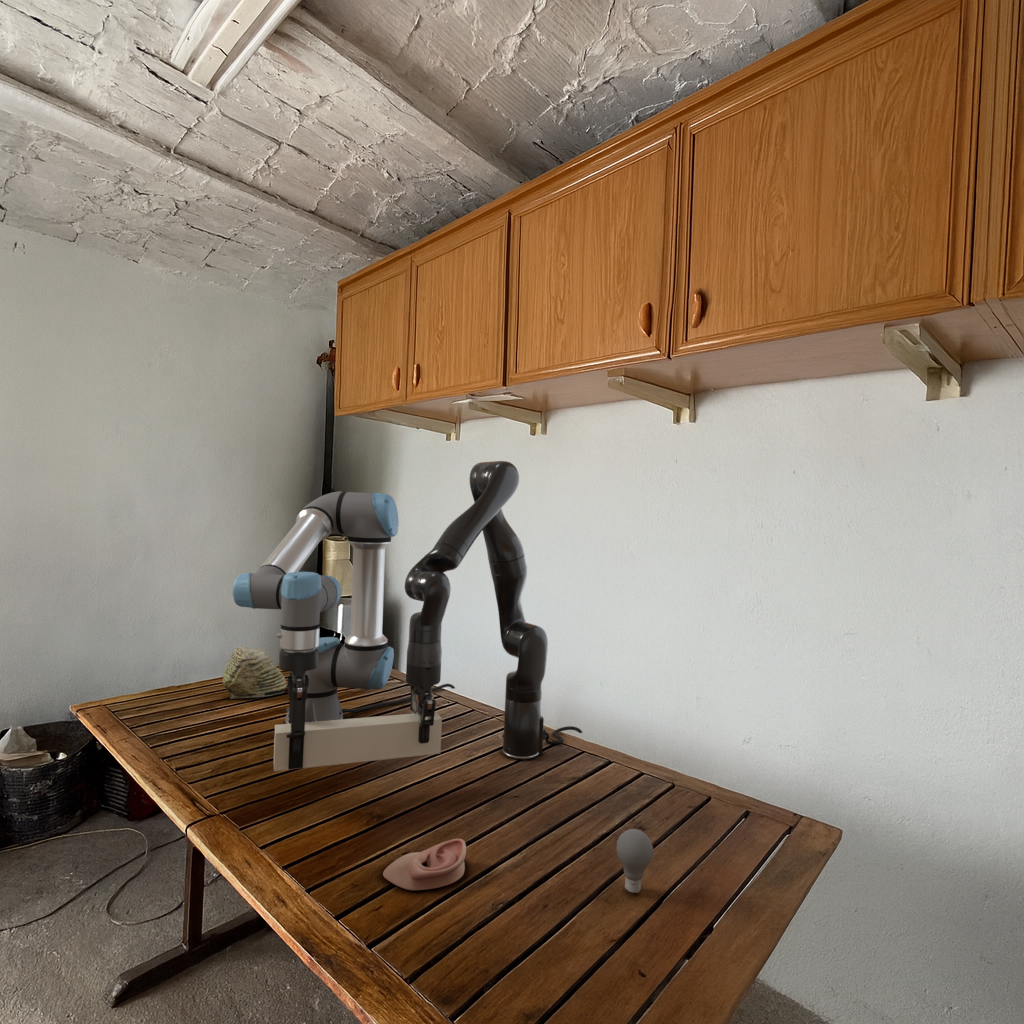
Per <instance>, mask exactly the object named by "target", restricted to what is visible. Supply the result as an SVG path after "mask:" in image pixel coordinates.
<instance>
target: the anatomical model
mask: <svg viewBox="0 0 1024 1024" xmlns="http://www.w3.org/2000/svg"><path fill="white" fill-rule="evenodd" d="M466 856H467V844H466V842H465V840H464V839H462V838H453V839H449V840H446V841H443V842H440V843H438V844H435V845H433V846H431V847H428V848H426V849H424V850H422V851H420V852H419V851H418V852H417V851H416V852H410V853H409V852H408V853H407V854H404V855H402V856H400V857H398V858H396V859H395V860H394V861H392V862H391V863H390V864H389V865H388V866H387V867H385V869H384V870H383V872H382V876H383V878H384V879H385V880H387V881H388V882H390V883H392V885H395V886H397V887H398V888H401V889H404V890H407V891H423V890H432V889H439V888H442V887H445V886H448V885H451V884H453V883H456V882H457V881H459V880H460V879H461V878H462V877H464V874H465V871H466V865H465V859H466Z"/></svg>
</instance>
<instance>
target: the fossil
mask: <svg viewBox="0 0 1024 1024" xmlns="http://www.w3.org/2000/svg"><path fill="white" fill-rule="evenodd" d="M222 676H223V677H222V685H223V687H224V688H225V690H226V691H228V693H229V698H230V699H250V698H264V697H271V696H275V695H281V694H284V693H285V691H286V689H287V688H288V684H287V680H286V678H285V676H284V674H283V673H282V672H281V669H280V668H278V667H277V665H276V663H275V662H274V660H273V659H272V658H271V657H270V656H269V655H268V654H267V653H266V652H265V650H264V649H263V648H260V647H258V648H251V647H247V646H246V647H245V646H238V647H237V648H236V649H235V650H233V651H232V653H231V656H230V657H229V659H228V660H227V663H226V666H225V668H224V671H223V675H222Z"/></svg>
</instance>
